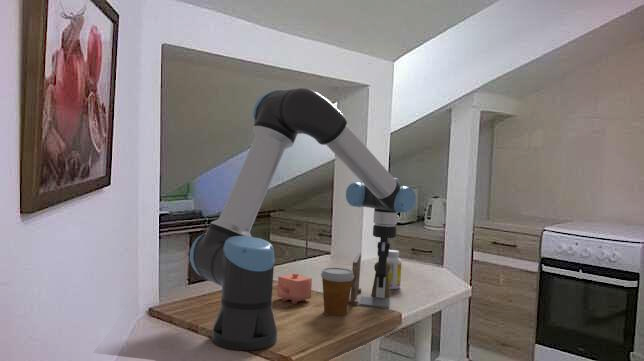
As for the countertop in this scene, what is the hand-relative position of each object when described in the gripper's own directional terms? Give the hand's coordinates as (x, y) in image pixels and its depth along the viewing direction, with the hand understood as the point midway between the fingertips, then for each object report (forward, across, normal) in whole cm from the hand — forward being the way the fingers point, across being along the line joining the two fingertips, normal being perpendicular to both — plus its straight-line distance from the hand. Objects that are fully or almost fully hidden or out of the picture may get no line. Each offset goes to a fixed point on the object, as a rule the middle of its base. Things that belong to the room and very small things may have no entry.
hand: (380, 293), depth 171 cm
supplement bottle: (+1, +14, -3) cm, 14 cm away
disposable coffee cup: (+1, -23, +12) cm, 26 cm away
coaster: (+1, -9, +2) cm, 10 cm away
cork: (+1, +1, 0) cm, 1 cm away
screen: (+1, -5, +8) cm, 10 cm away
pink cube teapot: (+1, -15, +26) cm, 30 cm away
